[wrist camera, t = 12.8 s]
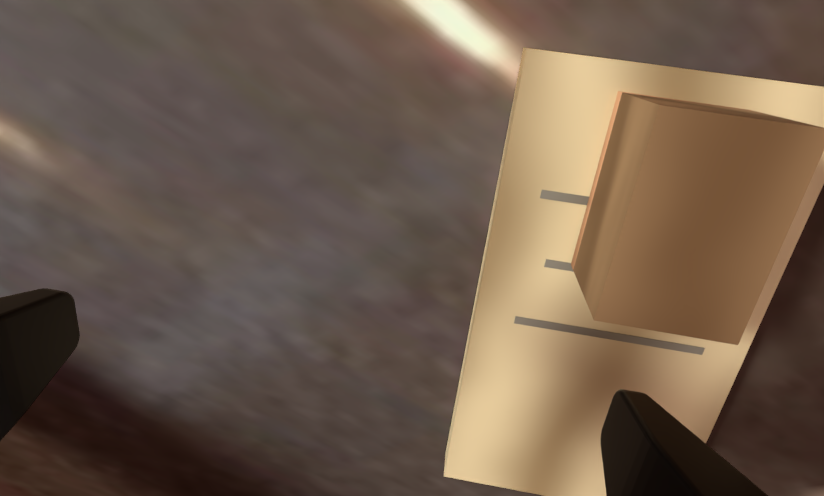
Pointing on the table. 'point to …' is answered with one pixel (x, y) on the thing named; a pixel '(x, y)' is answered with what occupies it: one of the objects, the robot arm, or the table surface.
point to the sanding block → (690, 214)
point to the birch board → (561, 294)
